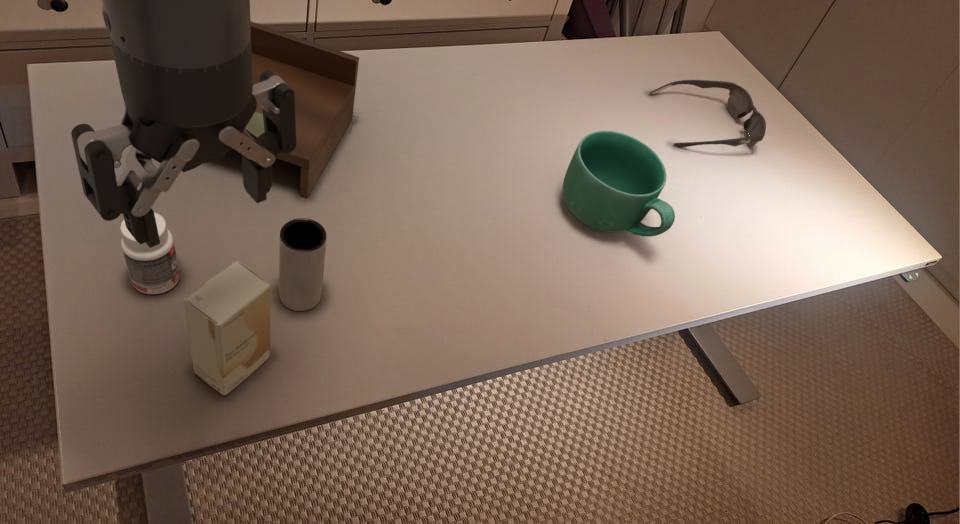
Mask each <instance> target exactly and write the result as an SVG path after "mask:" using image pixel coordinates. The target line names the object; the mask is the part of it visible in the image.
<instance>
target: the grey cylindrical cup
mask: <svg viewBox="0 0 960 524" xmlns="http://www.w3.org/2000/svg"><path fill="white" fill-rule="evenodd" d="M327 236H328V235H327V231H326V229H325V228H324V226H323V225H322V224H321V223H320V222H318V221H316V220H314V219H311V218H305V217H299V218H294V219H291V220H289V221H287V222H286V223H285V224H283V225H282V227H281V229H280V231H279V254H278V255H279V258H278V259H279V262H278V265H279V267H278V270H279V271H278V273H279V274H278V276H279V277H278V278H279V279H278V282H279V283H278V295H279V300H280V301H281V303H282V305H283V306H284V307H286V308H287V309H289V310H292V311H296V312H306V311H309V310H311V309H314V308H315V307H316V306H318V305H319V303H320V301H321V299H322V294H323V282H324V274H325V273H324V272H325V261H326V260H325V259H326V249H327V238H328V237H327Z"/></svg>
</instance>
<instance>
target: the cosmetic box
mask: <svg viewBox="0 0 960 524" xmlns="http://www.w3.org/2000/svg"><path fill="white" fill-rule="evenodd" d="M183 305H184V312H185V319H186V327H187V333H188V339H189V346H190V354H191V361H192V362H191V363H192V367H193V368H192V369H193V372H194V374H196V375H197V376H198V377H199V378H200V379H201V380H203V382H205V383H206V384H207V385H209V386H210V387H211V388H212V389H214V390H215V391H216V392H218V393H219V394H220V395H222V396H227V395H228V394H230V393H231V392H232V391H233V390H234V389H236V388H237V387H238V386H240V385H241V384H242V383H243V382H244V381H245V380H246V379H248V378H249V377H250V376H251V375H252V374H253V373H255V371H256V370H258V369H259V368H260V367H261V366H262V365H263V364H264V363H265V362H267V360H269V358H270V356H271V344H270V343H271V284H270V283H269V282H267V281H266V280H265V279H264V278H262V277H261V276H260V275H259V274H257V273H256V272H255V271H254V270H252V269H251V268H249V266H246V265H245V264H244V263H243V262H242V261H240V260H235V261H234V262H232V263H231V264H229V265H228V266H227V267H225V268H224V269H222V270H221V271H219V272H218V273H216V274H215V275H213V276H212V277H210V278H209V279H208V280H207V281H205V282H204V283H202V284H201V285H200V286H198V287H197V288H196V289H194V290H193V291H192V292H190V293H189V294H187V295H186V296H184V298H183Z"/></svg>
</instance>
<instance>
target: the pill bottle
mask: <svg viewBox="0 0 960 524" xmlns="http://www.w3.org/2000/svg"><path fill="white" fill-rule="evenodd" d="M154 215H155V220H156V225H157V230H158V234H159V239H160V244H159V245H156V246H154V247H151V248H149V247H148V245H147V244H146V243H143V244H139V243H138V242H137V241H136V240H135V238H134V237H133V236H132V235H131V233H130V232H129V231H128V229H127V228H126V224H125V220H124V219H123V220H122V221H121V222H120V233H121V239H120V246H121V250H122V254H123V256H124V261H125V264H126V269H127V271H128V275H129V280H130V283H131V285H132V286H133V287H134V288H135V290H137V291H138V292H140V293H142V294H146V295H159V294H164V293H167V292H169V291H170V290H171V289H173V288H174V287H175V286H177V284H178V282H179V280H180V276H181V275H180V267H179V262H178V256H177V252H176V245H175V239H174V237H173V234H172V232H171V231H170V230H169V229H168V227H167V223H166V220H165V217H163V216H162V215H160V214H159V213H157V212H155V211H154Z"/></svg>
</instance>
